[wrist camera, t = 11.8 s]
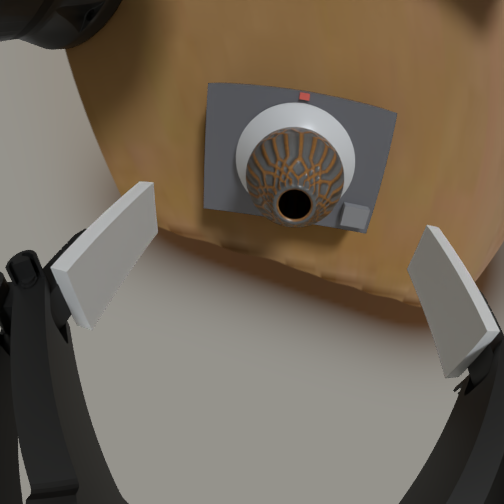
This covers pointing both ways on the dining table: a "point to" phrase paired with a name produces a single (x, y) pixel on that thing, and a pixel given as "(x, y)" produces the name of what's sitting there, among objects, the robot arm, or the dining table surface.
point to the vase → (294, 177)
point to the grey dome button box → (294, 115)
